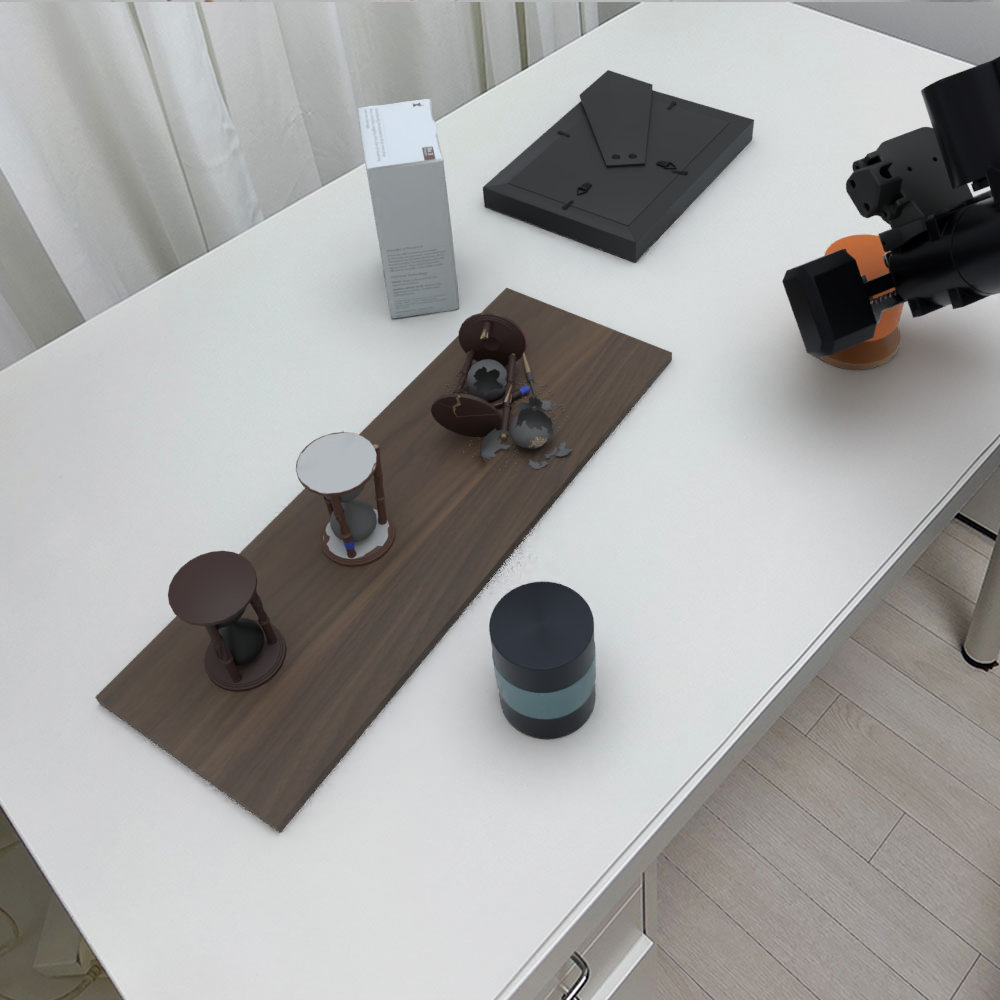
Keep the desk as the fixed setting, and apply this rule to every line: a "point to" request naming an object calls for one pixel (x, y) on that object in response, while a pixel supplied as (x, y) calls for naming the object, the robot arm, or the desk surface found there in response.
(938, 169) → the robot arm
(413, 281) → the cosmetic box
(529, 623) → the navy teal banded cylinder
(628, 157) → the picture frame
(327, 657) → the hourglass set
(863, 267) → the cap
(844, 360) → the coaster
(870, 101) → the desk surface
